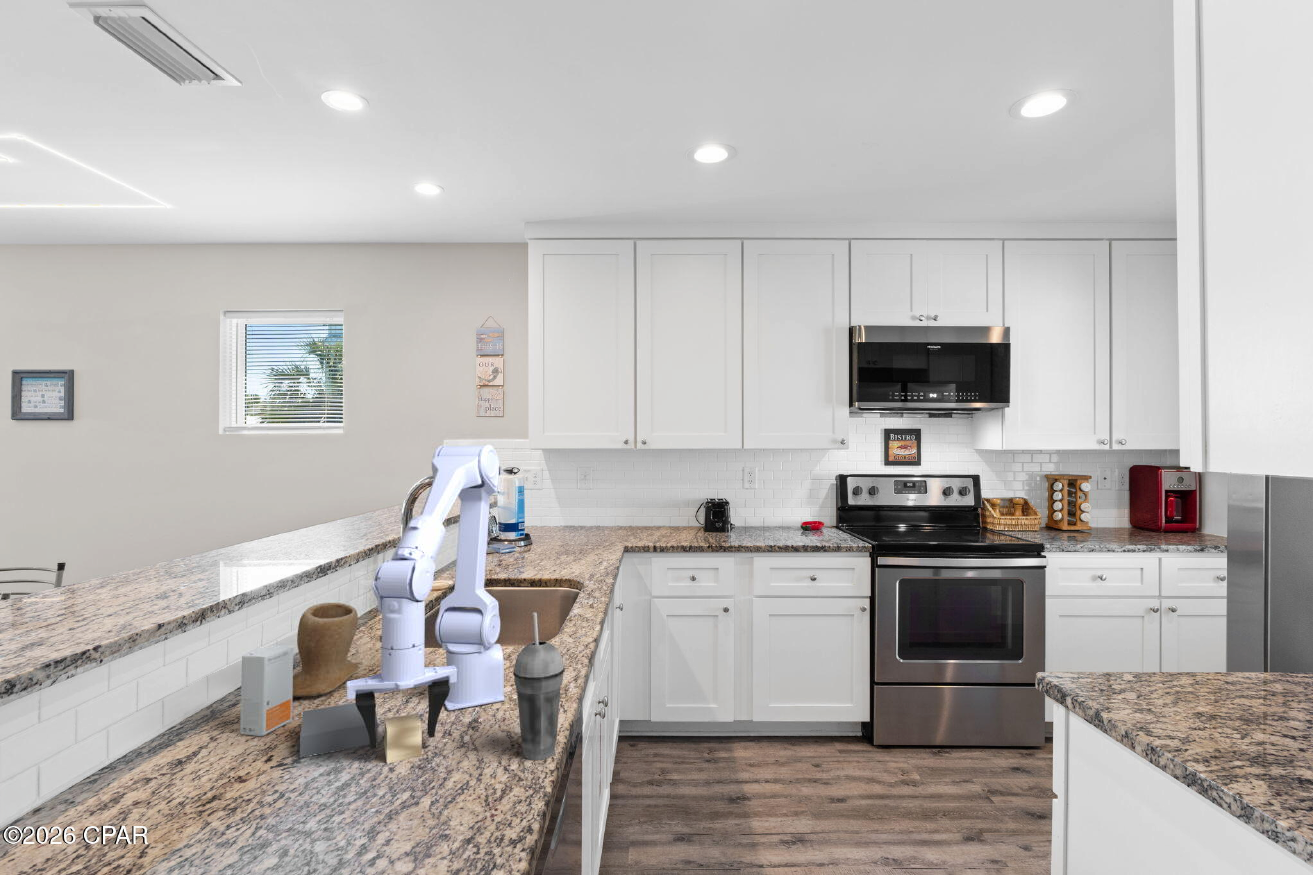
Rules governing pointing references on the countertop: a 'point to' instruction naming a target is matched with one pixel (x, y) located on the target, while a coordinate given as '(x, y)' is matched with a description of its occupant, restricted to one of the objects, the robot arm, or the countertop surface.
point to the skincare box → (266, 690)
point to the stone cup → (325, 648)
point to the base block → (333, 730)
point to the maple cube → (403, 738)
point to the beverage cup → (538, 696)
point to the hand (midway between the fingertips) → (402, 740)
